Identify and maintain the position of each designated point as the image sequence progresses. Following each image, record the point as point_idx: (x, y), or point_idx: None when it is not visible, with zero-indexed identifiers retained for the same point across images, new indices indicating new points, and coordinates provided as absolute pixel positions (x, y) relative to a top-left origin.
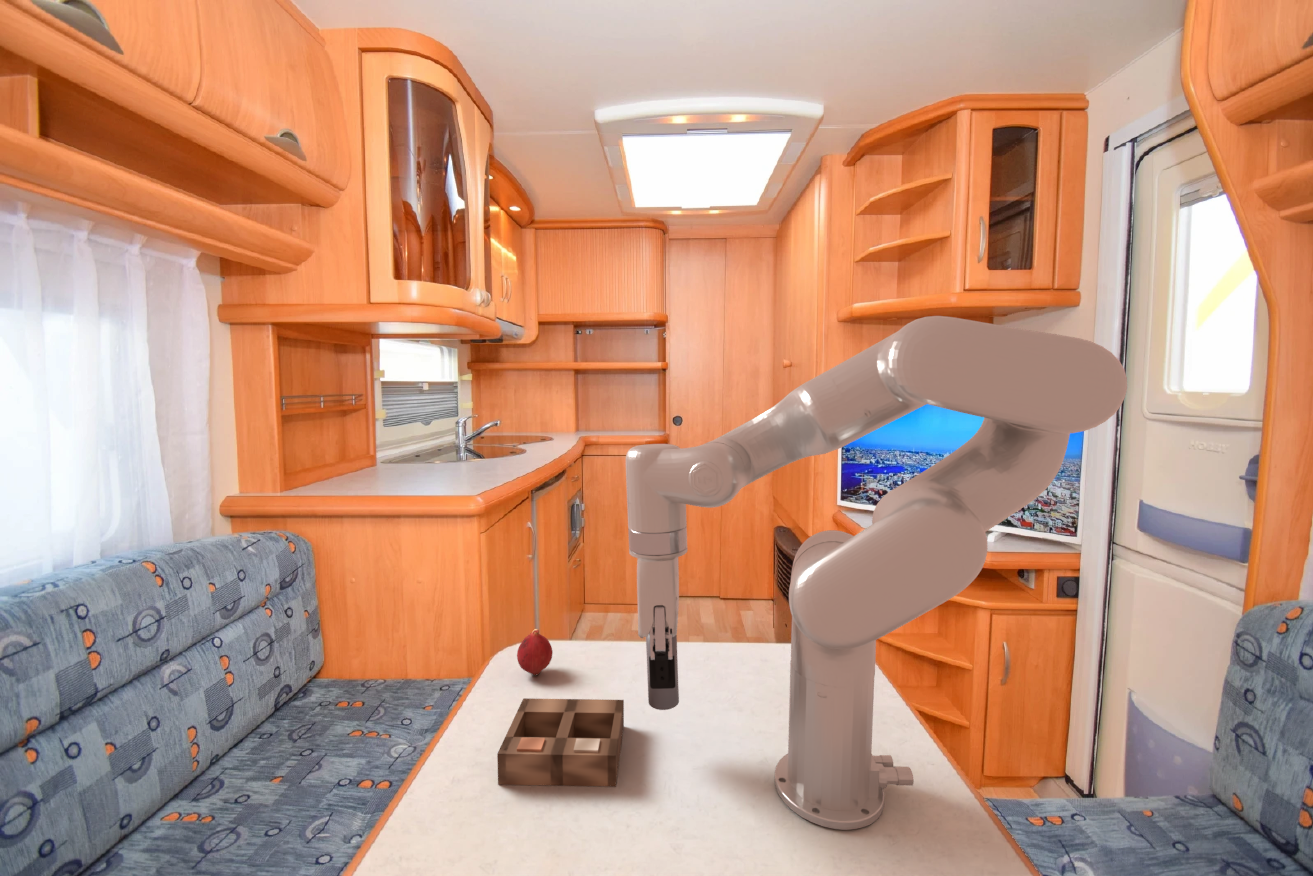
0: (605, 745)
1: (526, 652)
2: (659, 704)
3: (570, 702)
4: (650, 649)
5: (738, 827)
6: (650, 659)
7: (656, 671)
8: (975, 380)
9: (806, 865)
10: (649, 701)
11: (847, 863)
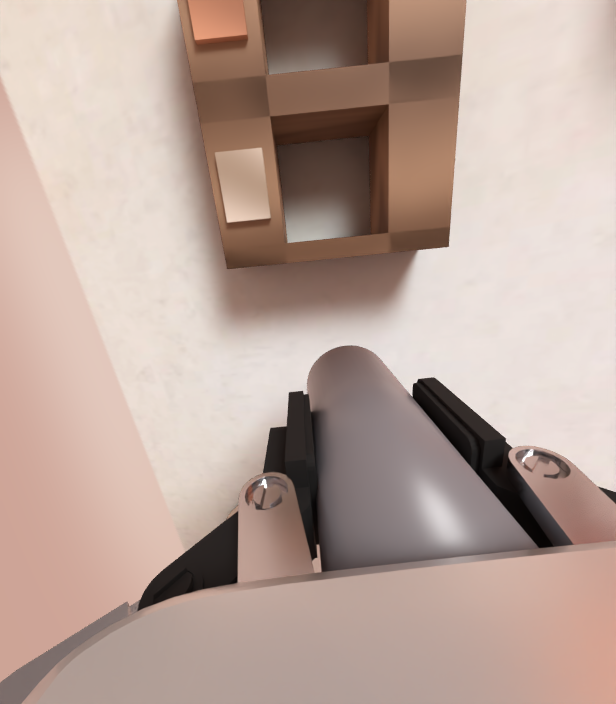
0: (256, 236)
1: None
2: (308, 385)
3: (442, 70)
4: (238, 534)
5: (202, 445)
6: (287, 462)
7: (265, 458)
8: None
9: (167, 506)
10: (329, 354)
11: (182, 538)
